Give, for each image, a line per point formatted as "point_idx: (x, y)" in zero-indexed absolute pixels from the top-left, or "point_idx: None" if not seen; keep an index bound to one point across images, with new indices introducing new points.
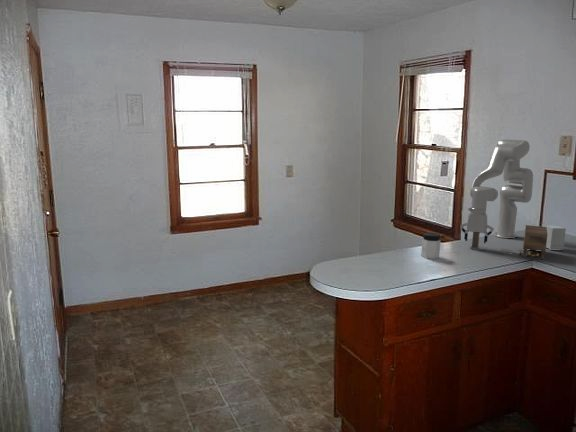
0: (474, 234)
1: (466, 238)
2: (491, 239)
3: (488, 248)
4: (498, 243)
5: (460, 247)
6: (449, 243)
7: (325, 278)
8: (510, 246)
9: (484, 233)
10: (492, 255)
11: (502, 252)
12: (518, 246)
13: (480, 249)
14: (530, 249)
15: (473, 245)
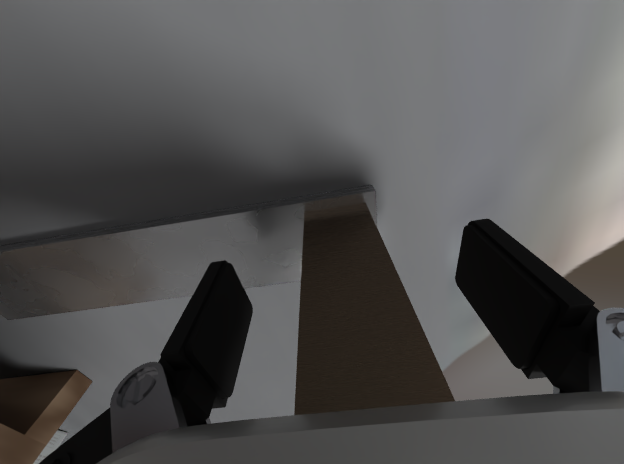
0: (393, 343)
1: (497, 244)
2: None
3: (213, 254)
4: (250, 399)
5: (484, 160)
6: (586, 243)
7: None
8: None
9: (168, 424)
10: (21, 9)
11: (77, 234)
12: None
13: (271, 202)
14: (34, 381)
15: (352, 214)
